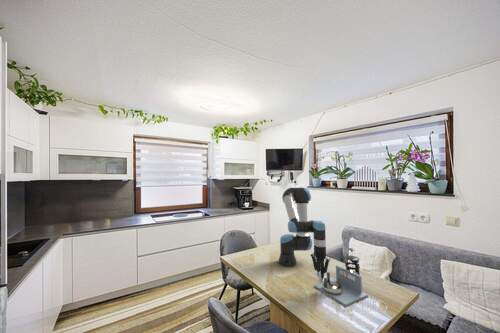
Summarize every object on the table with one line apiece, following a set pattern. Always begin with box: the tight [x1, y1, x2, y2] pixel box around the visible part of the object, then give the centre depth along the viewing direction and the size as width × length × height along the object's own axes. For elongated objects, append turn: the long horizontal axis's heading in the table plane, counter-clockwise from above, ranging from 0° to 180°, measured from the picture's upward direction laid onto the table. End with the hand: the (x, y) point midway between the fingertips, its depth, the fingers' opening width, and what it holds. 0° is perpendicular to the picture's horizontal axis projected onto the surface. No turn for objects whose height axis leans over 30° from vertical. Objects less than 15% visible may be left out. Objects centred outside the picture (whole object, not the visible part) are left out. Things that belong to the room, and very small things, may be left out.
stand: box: [313, 264, 369, 307], centre depth 128 cm, size 24×20×11 cm
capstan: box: [323, 271, 343, 295], centre depth 128 cm, size 12×12×8 cm
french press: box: [344, 248, 361, 276], centre depth 139 cm, size 12×9×23 cm
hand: (320, 282), depth 129 cm, fingers closed
